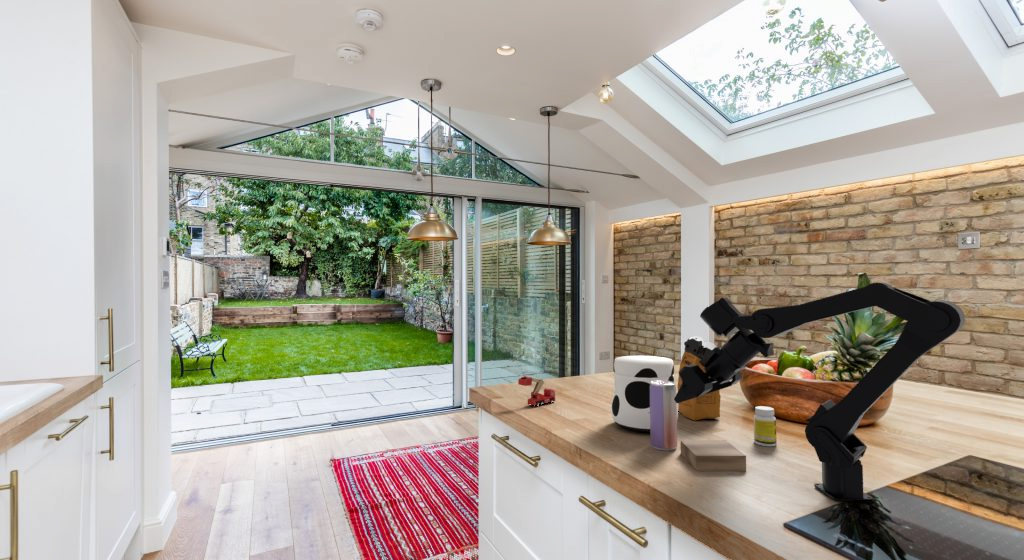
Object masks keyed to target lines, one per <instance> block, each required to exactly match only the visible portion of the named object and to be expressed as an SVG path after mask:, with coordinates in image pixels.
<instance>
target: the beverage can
mask: <svg viewBox="0 0 1024 560" xmlns="http://www.w3.org/2000/svg"><path fill="white" fill-rule="evenodd" d="M676 394H677V386H676V383H675V381H674V382H671V381H663V380H657V381H651V382H650V432H649V433H650V434H649V435H650V436H649V437H650V438H649V440H650V443H649V444H650V446H651V447H652V448H653V449H655V450H659V451H662V450H663V451H662V452H665V451H666V452H667V451H668V452H671V451H674V450H676V449H677V447H678V420H677V405H678V403H676V402H675V400H674V398H675V396H676ZM670 450H671V451H670Z"/></svg>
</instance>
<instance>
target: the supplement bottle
mask: <svg viewBox="0 0 1024 560" xmlns="http://www.w3.org/2000/svg"><path fill="white" fill-rule="evenodd" d="M754 412H755V415H753V442H754V443H755V444H756V445H758V446H761V445H762V447H776V446H777V419H776V417H775V409H774V408H773V407H771V406H763V405H759V406H755V408H754Z"/></svg>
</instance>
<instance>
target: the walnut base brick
mask: <svg viewBox="0 0 1024 560" xmlns="http://www.w3.org/2000/svg"><path fill="white" fill-rule="evenodd" d="M680 455H681V456H682V457H683V458H684V459H685V460H686V462H688V464H690V466H692V468H693V469H694V470H695V471H697V472H700V471H703V472H704V471H705V472H707V471H712V472H713V471H715V472H716V471H718V472H719V471H720V472H721V471H722V472H725V471H726V472H730V471H731V472H734V471H735V472H736V471H738V472H742V471H747V455H745V454H744V453H743V452H742V451H741V450H739V449H738V448H737V447H735V446H734V445H733V444H732V443H730V442H729V441H727V439H726V440H725V439H701V440H700V439H695V440H694V439H685V440H684V439H680Z"/></svg>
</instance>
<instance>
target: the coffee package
mask: <svg viewBox="0 0 1024 560" xmlns="http://www.w3.org/2000/svg"><path fill="white" fill-rule="evenodd" d="M700 360H701V359H699V358H698V357H696V356H694V355H693V354H691V353H687V352H686V351H685V350H684V352H683V354H682V356H681V360H680V363H679V369H678V372H679V371H680V370H681V369H682V368H683V367H684V366H687V365H692V364H693V365H698V366H699V367H700V368H701V369H702V370H703V372H706V371H705V369H704V368H705V367H704V366H702V365H701V364H700V363H699V361H700ZM681 385H682V379H681V377H680V375H679V374H678V380H677V386H676V390H677V392H678V391H679V389H680V387H681ZM677 405H678V411H679V412H678V413H681V414H682V416H683V417H684V416H685V417H684V418H686V417H687V418H686V419H689V420H692V421H700V420H704V419H705V420H706V419H709V420H710V419H711V420H713V419H717V418H720V417H721V393H720V390H717V391H714V392H711V393H708V394H705V395H702V396H699V397H696V398H693V399H690V400H686V401H683V402H680V403H677Z"/></svg>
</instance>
